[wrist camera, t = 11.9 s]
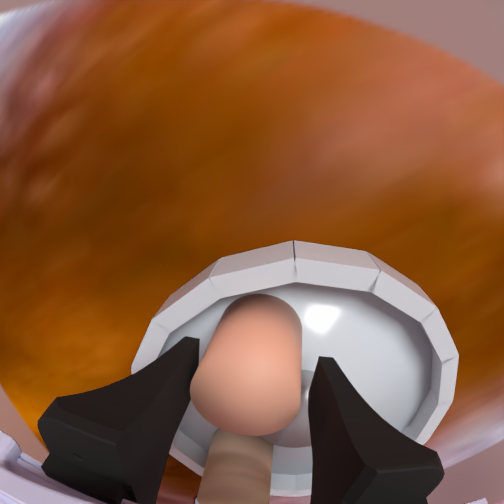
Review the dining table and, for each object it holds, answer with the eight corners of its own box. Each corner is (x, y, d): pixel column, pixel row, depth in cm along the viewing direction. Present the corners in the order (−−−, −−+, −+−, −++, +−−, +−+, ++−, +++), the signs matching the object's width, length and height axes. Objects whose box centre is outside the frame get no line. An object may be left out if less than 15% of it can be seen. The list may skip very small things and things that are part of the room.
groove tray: (380, 472, 20) (385, 495, 18) (158, 448, 21) (149, 471, 19) (481, 269, 14) (504, 287, 12) (145, 220, 15) (123, 233, 13)
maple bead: (267, 462, 19) (262, 520, 14) (210, 453, 19) (196, 510, 14) (279, 428, 18) (275, 494, 13) (214, 418, 18) (197, 482, 13)
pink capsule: (294, 368, 16) (288, 442, 11) (217, 355, 16) (189, 424, 11) (309, 300, 15) (311, 368, 10) (223, 286, 15) (190, 347, 10)
